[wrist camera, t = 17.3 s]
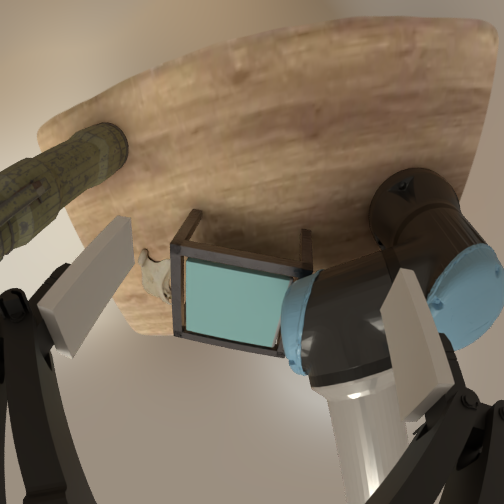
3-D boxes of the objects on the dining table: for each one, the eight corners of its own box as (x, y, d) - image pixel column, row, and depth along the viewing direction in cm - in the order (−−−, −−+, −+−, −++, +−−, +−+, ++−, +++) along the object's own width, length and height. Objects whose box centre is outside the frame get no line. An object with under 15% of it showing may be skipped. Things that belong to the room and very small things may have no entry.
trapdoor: (293, 276, 42) (293, 281, 42) (274, 343, 50) (274, 347, 49) (188, 256, 43) (186, 261, 42) (188, 325, 51) (186, 330, 50)
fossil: (174, 251, 55) (167, 262, 52) (176, 297, 61) (171, 309, 58) (139, 245, 56) (131, 256, 53) (145, 290, 62) (138, 301, 59)
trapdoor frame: (311, 230, 49) (313, 270, 40) (287, 314, 59) (284, 358, 51) (192, 209, 50) (170, 243, 41) (190, 296, 60) (173, 335, 51)
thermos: (71, 144, 46) (-92, 258, 16) (117, 106, 41) (-84, 210, 12) (96, 185, 49) (-49, 323, 20) (145, 152, 45) (-28, 302, 16)
